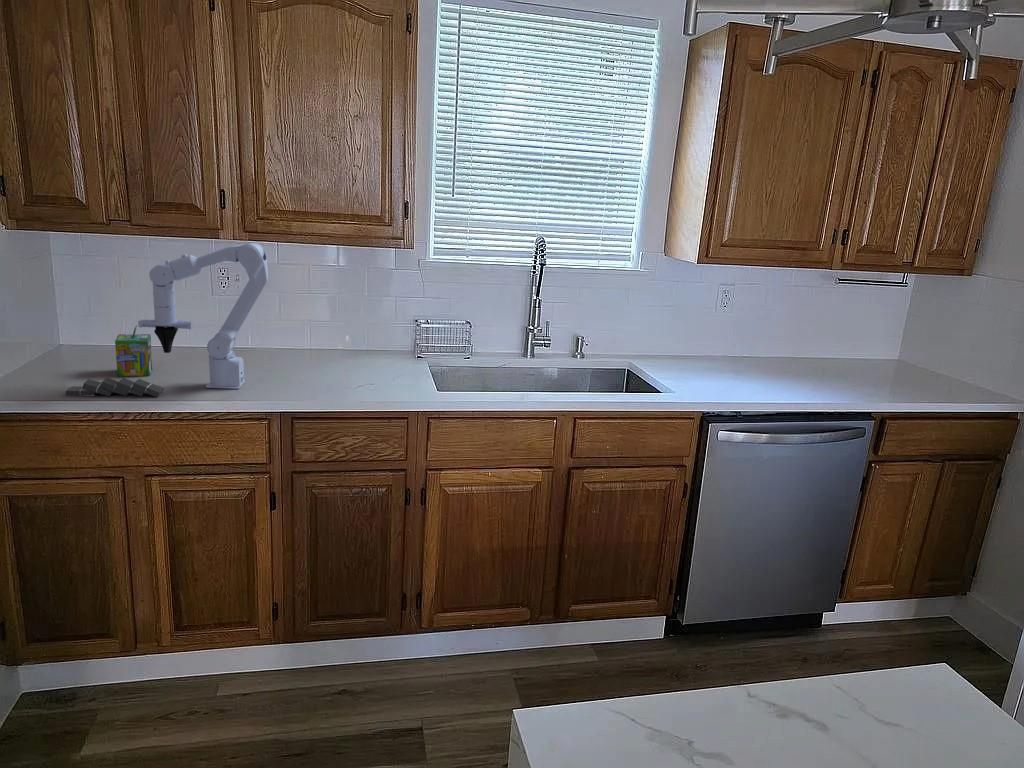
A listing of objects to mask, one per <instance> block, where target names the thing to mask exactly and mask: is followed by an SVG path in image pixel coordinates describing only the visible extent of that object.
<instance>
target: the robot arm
mask: <svg viewBox="0 0 1024 768" xmlns="http://www.w3.org/2000/svg"><path fill="white" fill-rule="evenodd" d="M180 256H181V257H179V258H176V259H173V260H170V259H168V260H165V261H164V263H160V264H156V265H155V266H153V267H152V268H151V269H150V271H149V279H150V281H151V282H152V296H153V298H152V300H153V301H152V302H153V312H154V313H153V314H154V319H139V320H138V321H137V322H138V325H137V327H138V328H155V329H154V331H153V332H154V334H155V335H156V336H157V338H158V340H159V342H160V344H161V348H162V350H163V353H164V354H170V353H171V352H172V347H173V342H174V339H175V336H176V334H177V332H178V331H179V329H186V330H192V329H194V322H193V321H188V320H187V321H186V320H180V319H177V306H176V305H177V303H176V291H175V290H176V289H175V281H181V280H184V279H187V278H190V277H193V276H196V275H200V273H201V270H202V268H205V267H209V266H212V265H216V264H220V263H223V262H226V261H229V262H232V263H240V265H241V266H242V267H243V268H244V269H245V271H246V273H247V276H248V279H249V280H248V281H247V283H246V284H245V287H244V288H243V290H242V291H241V294H240V295H239V297H238V299H237V300H236V302H235V304H234V306H233V307H232V309H231V311H230V313H229V314H228V316H227V318H226V319H225V321H224V323H223V324H222V326H221V327H220V329H219V331H218V332H217V333H216V334H215V335H214V336H213V337H212V338H211V339H210V340H209V341H208V342H207V344H206V350H207V352H208V366H209V367H208V368H209V383H207V384H206V386H205V388H207V389H233V390H234V389H235V390H237V389H240V388H241V387H242V386H243V384H245V382H246V381H245V363H244V358H243V357H241V356H236V353H235V352H234V351H233V349H234V347H235V346H236V337H237V335H238V334H239V331H240V330H241V328H242V326H243V324H244V323H245V321H246V319H247V318H248V316H249V315H250V313H251V311H252V309H253V307H254V306H255V304H256V302H257V300H258V299H259V297H260V295H261V294H262V291H263V290H264V288H265V287H266V286H267V285H266V284H268V280H269V269H268V256H267V253H266V251H265V248H263V246H262V245H261V244H260V243H258V242H255V241H250V242H247V243H246V244H244V243H242V244H241V243H239V244H236V245H230V246H227V247H224V248H221V249H218V250H216V251H215V250H214V251H213V252H210V253H207V254H204V255H201V256H199V257H197V256H195V255H193V254H187V253H185V254H181V255H180Z"/></svg>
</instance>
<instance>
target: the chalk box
mask: <svg viewBox="0 0 1024 768" xmlns="http://www.w3.org/2000/svg"><path fill="white" fill-rule="evenodd" d="M137 327H138V325H135V327H134V329H133V333H132V334H131V333H119V334H117V336H116V339H115V341H114V342H115V345H114V346H115V359H116V373H117V374H116V375H117V377H119V376H121V377H150V376H151V373H152V371H153V359H152V337H151V336H152V335H151V334H150V333H149V334H147V333H146V334H143V333H140V334H138V333H136V331H137Z"/></svg>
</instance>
